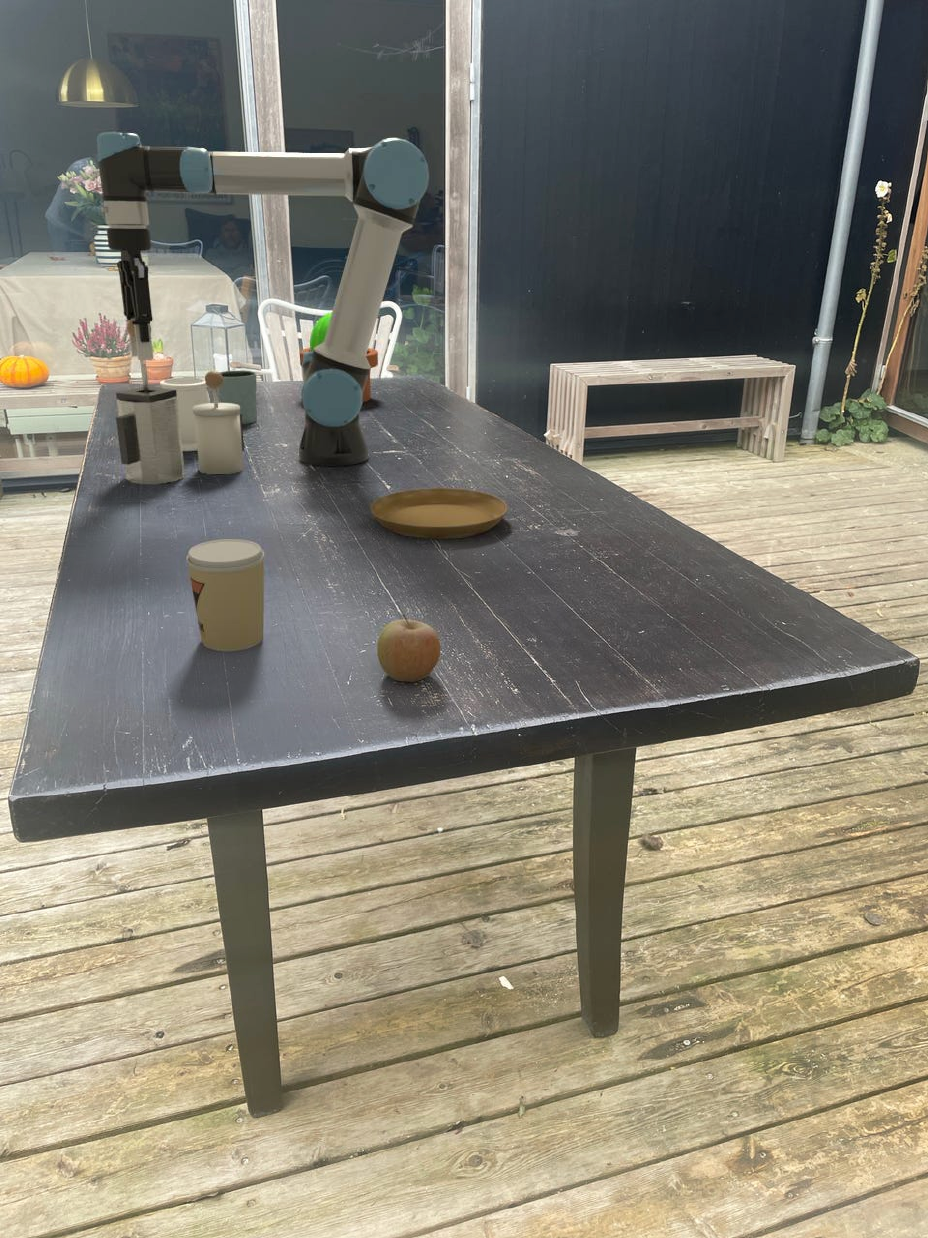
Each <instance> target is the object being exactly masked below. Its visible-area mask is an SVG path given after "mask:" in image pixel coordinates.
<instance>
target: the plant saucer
mask: <svg viewBox="0 0 928 1238" xmlns="http://www.w3.org/2000/svg"><path fill="white" fill-rule="evenodd" d="M369 508H370V511H371V515H372V516H373V517H374V519H375V520H376V521H377V522H378V523H379V524H380V525H381V526H382V527H383V528H385V529H387V530H389V531H390V532H393V533H395V534H398V535H401V536H406V537H410V538H415V539H416V538H417V539H424V540H425V539H426V540H427V539H428V540H453V539H461V538H469V537H473V536H478V535H480V534H482V533H485V532H488V530H490V529H492V528H494V527H495V526H496V525H498V524H499V523H500V522H501V521H502V519H503V518H504V516H506V514H507V511H508V505H507V503H506V502H505V501H504V500H503V499H501V498H499V497H498V496H496V495H492V494H490V493H486V492H482V491H479V490H478V491H477V490H472V489H464V488H455V487H454V488H452V487H451V488H450V487H449V488H448V487H430V488H417V489H416V488H415V489H408V490H401V491H398V492H394V493H390V494H386V495H383V496H381V497H379V498H377V499H375V500H374V501H373V502H372V503H371V505H370V507H369Z"/></svg>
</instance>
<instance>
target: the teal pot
mask: <svg viewBox="0 0 928 1238" xmlns="http://www.w3.org/2000/svg"><path fill="white" fill-rule="evenodd" d="M218 372H219V371H218ZM219 373H220V374H221V375H222V377H223V384H222V385H221V387H219V388H217V393H218V394H219V397H218V399H219V403H232V404H237V405H239V406H240V413H241V414H242V425H247V424H252V423H256V422H257V420H258V408H257V404H258V403H257V372H255V371H252V370H241V369H240V370H225V371H220V372H219Z"/></svg>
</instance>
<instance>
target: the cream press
mask: <svg viewBox="0 0 928 1238" xmlns="http://www.w3.org/2000/svg"><path fill="white" fill-rule="evenodd" d="M204 379H205V383H206V385H207V387H208V388H210V389H212V394H213V395H212V396H213V402H210V403H207V404H200V405H196V406H194V407H193V414H194V418H195V428H196V439H197V449H198V451H197V458H198V468H199V469H198V470H199V473H201V472H203V473H202V474H204V473H206V474H205V475H210V474H227V475H232V474H231V473H234V474H237V473H236V472H238V473H240V472H242V471H244V457H243V456H244V455H243V452H245V442H244V431H243V430H244V429H243V424H242V414H241V413H240V406H239V405H237V404H232V403H220V402H219V397H218V388H219V387H221V385H222V384H223V377H222V375H221V374H220V373H219V371H218V370H210V371H208V372H207V373H206V374H205V377H204Z"/></svg>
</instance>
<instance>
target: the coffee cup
mask: <svg viewBox="0 0 928 1238" xmlns="http://www.w3.org/2000/svg"><path fill="white" fill-rule="evenodd" d="M185 561H186V565H187V566H188V570H189V571H188V572H189V577H190V582H191V588H192V589H191V590H192V596H193V600H194V606H195V607H194V608H195V613H196V618H197V623H198V629H199V635H200V640H201V642H202V645H203V646H204V647H205V648H207V649H210V650H211V651H216V652H225V653H226V652H238V651H243V650H247V649H250V648H253V647H255V646H258V645H259V644H260V643H261V642H262V640H263V638H264V622H265V621H264V615H265V614H264V607H265V606H264V605H265V604H264V601H265V600H264V598H265V597H264V593H265V592H264V588H265V586H264V582H265V580H264V578H265V575H264V574H265V573H264V561H265V551H264V550H263V549H262V547H261V546H260V545H259V544H258V543H256V542H254V541H252V540H246V539H241V538H240V539H239V538H238V539H237V538H236V539H235V538H226V539H225V538H224V539H215V540H209V541H205V542H201V543H198V544H196V545H194V546H192V547H191V548H190V549H189V551H188V554H187V556H186V559H185Z"/></svg>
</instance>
